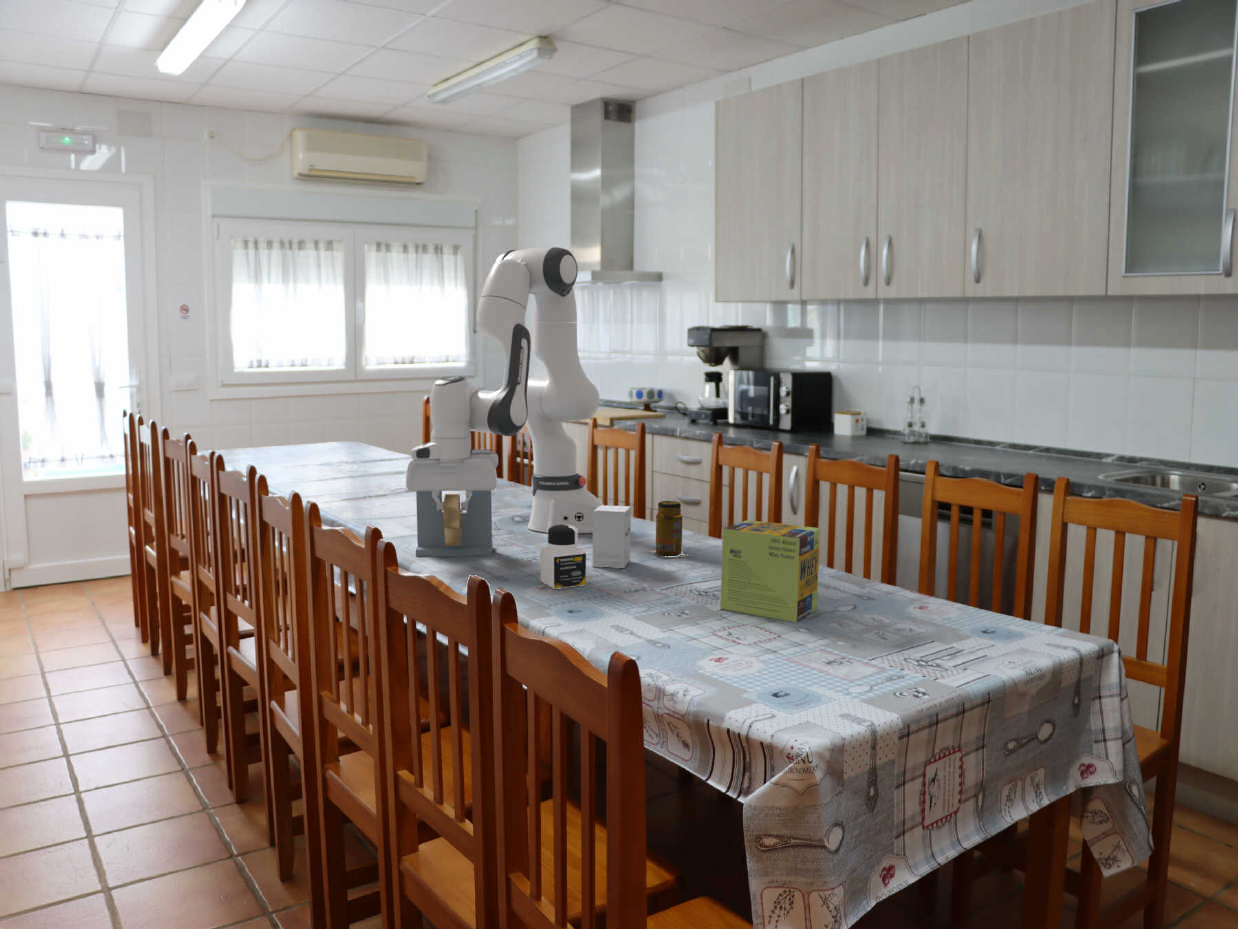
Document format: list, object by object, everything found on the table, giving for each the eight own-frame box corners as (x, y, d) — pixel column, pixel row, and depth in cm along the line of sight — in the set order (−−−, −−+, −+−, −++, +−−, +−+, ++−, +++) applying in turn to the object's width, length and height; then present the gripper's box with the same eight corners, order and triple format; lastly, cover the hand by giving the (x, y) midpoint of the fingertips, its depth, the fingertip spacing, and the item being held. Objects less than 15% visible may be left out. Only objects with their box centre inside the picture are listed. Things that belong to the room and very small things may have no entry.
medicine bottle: (554, 590, 194) (553, 531, 192) (540, 582, 200) (539, 524, 198) (586, 586, 197) (586, 528, 195) (571, 578, 203) (571, 521, 201)
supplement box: (624, 569, 211) (625, 511, 209) (591, 567, 212) (591, 510, 210) (631, 561, 218) (631, 505, 216) (599, 559, 219) (599, 504, 217)
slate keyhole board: (492, 547, 231) (491, 476, 228) (491, 555, 223) (490, 481, 220) (420, 548, 229) (418, 476, 227) (415, 556, 221) (413, 482, 219)
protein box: (797, 623, 173) (800, 537, 171) (719, 609, 181) (721, 527, 179) (818, 609, 182) (821, 527, 180) (743, 596, 190) (745, 518, 188)
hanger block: (464, 524, 228) (462, 486, 224) (461, 545, 219) (459, 505, 215) (447, 525, 228) (445, 486, 224) (443, 545, 219) (441, 505, 215)
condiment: (676, 549, 230) (677, 499, 228) (691, 557, 222) (692, 505, 220) (648, 551, 228) (648, 500, 226) (662, 559, 220) (662, 507, 218)
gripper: (498, 447, 222) (499, 506, 224) (407, 447, 221) (409, 507, 223) (497, 450, 216) (498, 512, 218) (403, 451, 214) (405, 513, 216)
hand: (452, 510), depth 220 cm, fingers open, 4 cm apart
